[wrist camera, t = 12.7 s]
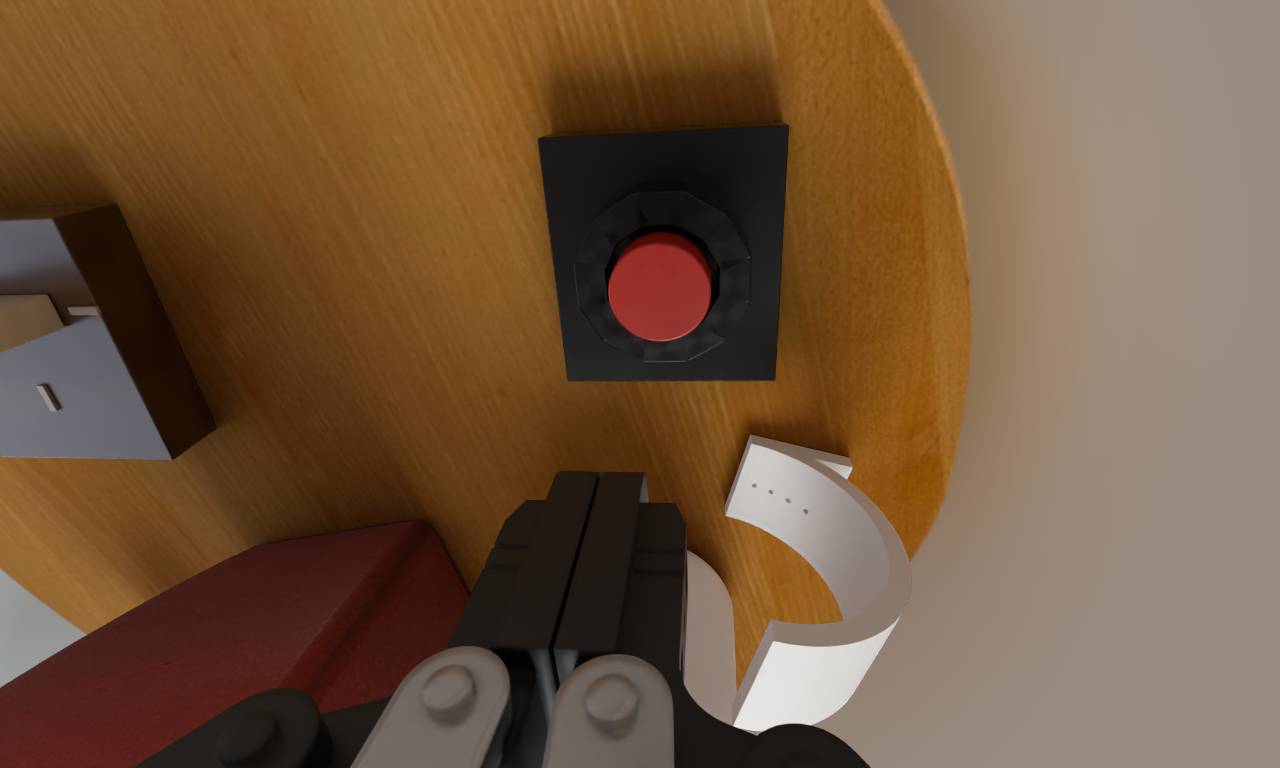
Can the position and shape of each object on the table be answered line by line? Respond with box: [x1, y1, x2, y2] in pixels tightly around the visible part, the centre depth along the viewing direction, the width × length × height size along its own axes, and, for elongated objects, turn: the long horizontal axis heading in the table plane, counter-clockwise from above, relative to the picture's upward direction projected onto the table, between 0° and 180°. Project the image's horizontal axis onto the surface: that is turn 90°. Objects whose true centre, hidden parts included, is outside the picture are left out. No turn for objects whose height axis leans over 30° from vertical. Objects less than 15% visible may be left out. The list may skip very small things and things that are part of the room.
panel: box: [0, 204, 216, 460], centre depth 29 cm, size 13×10×3 cm
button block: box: [538, 121, 789, 381], centre depth 24 cm, size 10×9×4 cm
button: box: [608, 232, 711, 341], centre depth 21 cm, size 4×4×2 cm
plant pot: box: [0, 521, 470, 768], centre depth 30 cm, size 19×19×17 cm
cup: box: [684, 550, 737, 726], centre depth 30 cm, size 10×10×10 cm
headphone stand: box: [725, 434, 912, 731], centre depth 25 cm, size 5×6×12 cm
